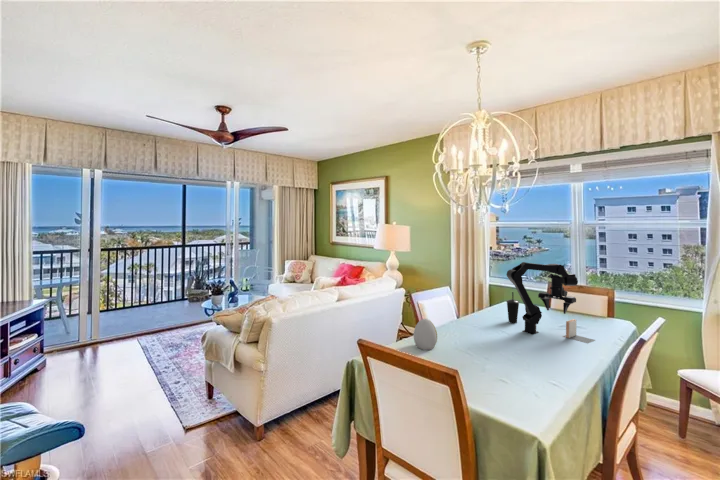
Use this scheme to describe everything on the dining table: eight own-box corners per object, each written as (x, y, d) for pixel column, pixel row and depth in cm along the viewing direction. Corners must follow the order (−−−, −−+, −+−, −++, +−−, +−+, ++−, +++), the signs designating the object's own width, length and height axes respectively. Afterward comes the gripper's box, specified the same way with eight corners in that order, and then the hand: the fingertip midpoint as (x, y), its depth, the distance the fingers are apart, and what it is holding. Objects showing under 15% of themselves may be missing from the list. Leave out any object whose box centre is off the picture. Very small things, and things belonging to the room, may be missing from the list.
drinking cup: (512, 324, 210) (512, 293, 210) (503, 321, 218) (503, 291, 217) (522, 323, 212) (522, 292, 212) (513, 320, 220) (513, 290, 219)
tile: (569, 338, 183) (569, 322, 182) (566, 337, 184) (566, 321, 184) (576, 335, 187) (576, 319, 187) (573, 334, 188) (573, 319, 188)
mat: (587, 344, 174) (587, 343, 174) (562, 337, 186) (562, 336, 186) (596, 340, 179) (596, 340, 179) (570, 334, 190) (570, 333, 190)
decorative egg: (442, 347, 173) (442, 318, 173) (427, 353, 165) (427, 323, 165) (423, 341, 183) (423, 314, 182) (408, 347, 174) (408, 318, 174)
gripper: (581, 286, 190) (580, 313, 190) (547, 282, 205) (547, 306, 206) (571, 288, 183) (571, 316, 184) (538, 283, 199) (537, 309, 200)
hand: (556, 312), depth 194 cm, fingers open, 9 cm apart
